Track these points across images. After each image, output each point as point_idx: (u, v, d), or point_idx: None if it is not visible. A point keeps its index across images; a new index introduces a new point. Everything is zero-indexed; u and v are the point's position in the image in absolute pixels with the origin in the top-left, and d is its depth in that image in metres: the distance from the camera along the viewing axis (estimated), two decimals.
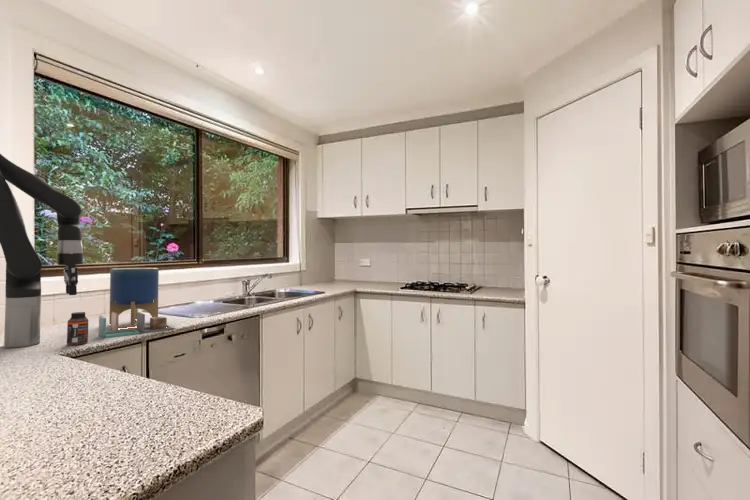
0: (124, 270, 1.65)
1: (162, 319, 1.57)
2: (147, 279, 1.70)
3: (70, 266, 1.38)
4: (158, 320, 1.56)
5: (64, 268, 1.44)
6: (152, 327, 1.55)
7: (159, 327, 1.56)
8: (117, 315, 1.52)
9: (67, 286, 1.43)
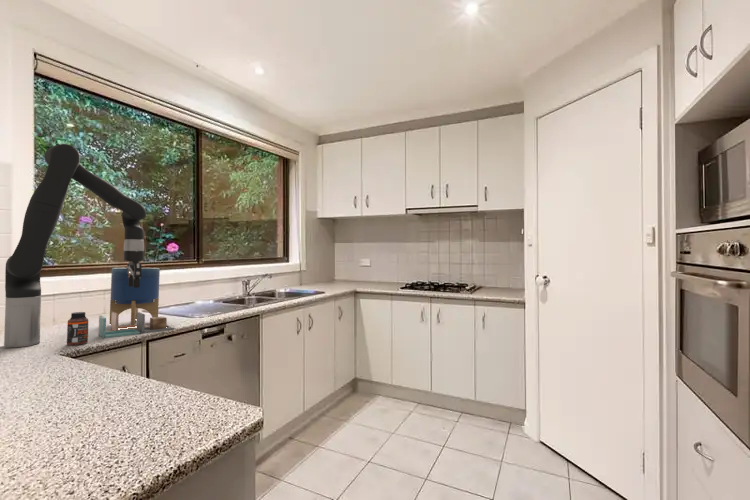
0: (125, 269, 1.65)
1: (162, 319, 1.57)
2: (148, 278, 1.70)
3: (135, 262, 1.57)
4: (158, 320, 1.56)
5: (127, 264, 1.64)
6: (152, 327, 1.55)
7: (159, 327, 1.56)
8: (117, 315, 1.52)
9: (129, 280, 1.62)
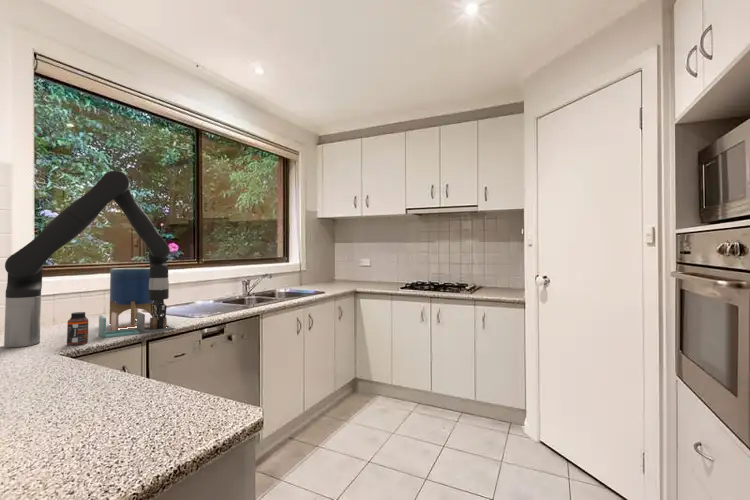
0: (124, 270, 1.65)
1: None
2: (147, 279, 1.70)
3: (160, 301, 1.55)
4: None
5: (151, 303, 1.61)
6: (152, 327, 1.55)
7: None
8: (117, 315, 1.52)
9: None
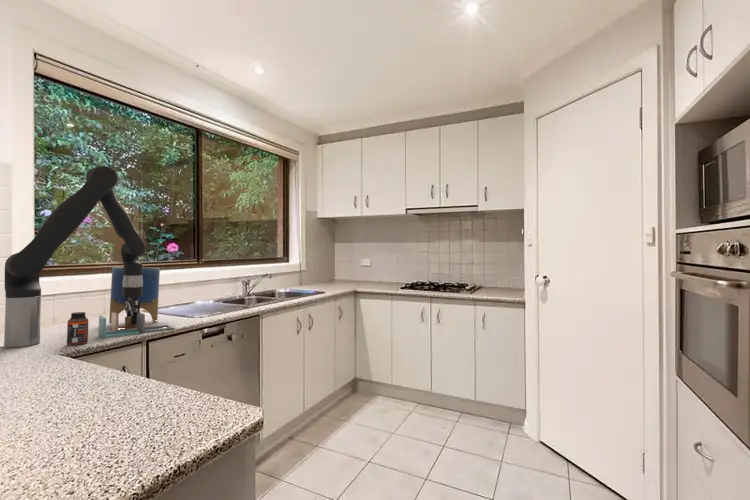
0: None
1: None
2: (147, 278, 1.71)
3: (133, 298, 1.58)
4: None
5: (125, 299, 1.64)
6: (126, 326, 1.57)
7: (133, 326, 1.58)
8: (117, 315, 1.52)
9: (128, 315, 1.63)
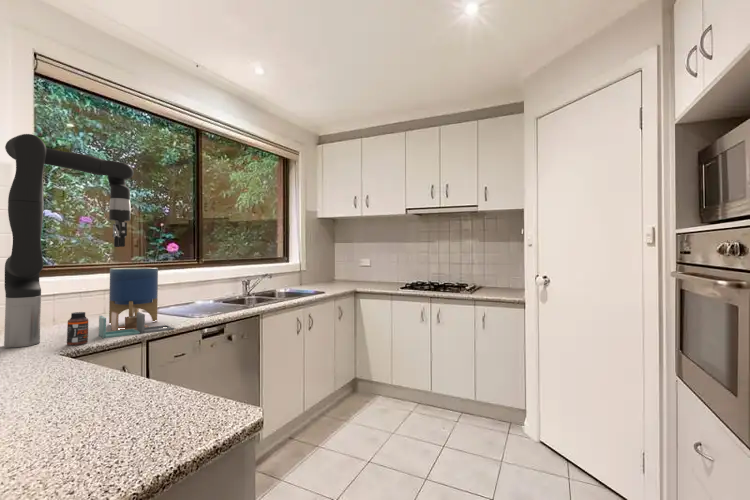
0: (122, 270, 1.65)
1: (136, 318, 1.59)
2: (145, 279, 1.70)
3: (120, 221, 1.56)
4: (132, 319, 1.58)
5: (113, 224, 1.62)
6: (126, 326, 1.57)
7: (133, 326, 1.58)
8: (117, 315, 1.52)
9: (115, 240, 1.61)
